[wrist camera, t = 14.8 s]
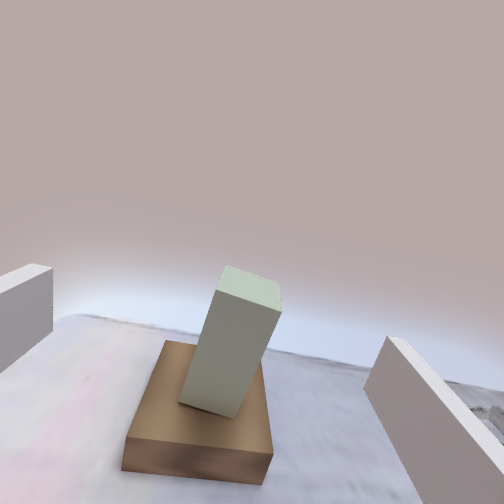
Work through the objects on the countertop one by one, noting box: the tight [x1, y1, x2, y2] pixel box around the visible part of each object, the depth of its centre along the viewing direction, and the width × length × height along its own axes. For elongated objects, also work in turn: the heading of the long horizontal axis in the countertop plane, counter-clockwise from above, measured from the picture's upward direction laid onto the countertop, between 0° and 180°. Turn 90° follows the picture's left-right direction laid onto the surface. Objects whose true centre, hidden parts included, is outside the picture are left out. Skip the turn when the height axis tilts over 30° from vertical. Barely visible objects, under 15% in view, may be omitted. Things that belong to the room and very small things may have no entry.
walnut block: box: [121, 340, 274, 485], centre depth 25 cm, size 11×11×4 cm
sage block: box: [178, 265, 282, 419], centre depth 22 cm, size 5×5×11 cm
